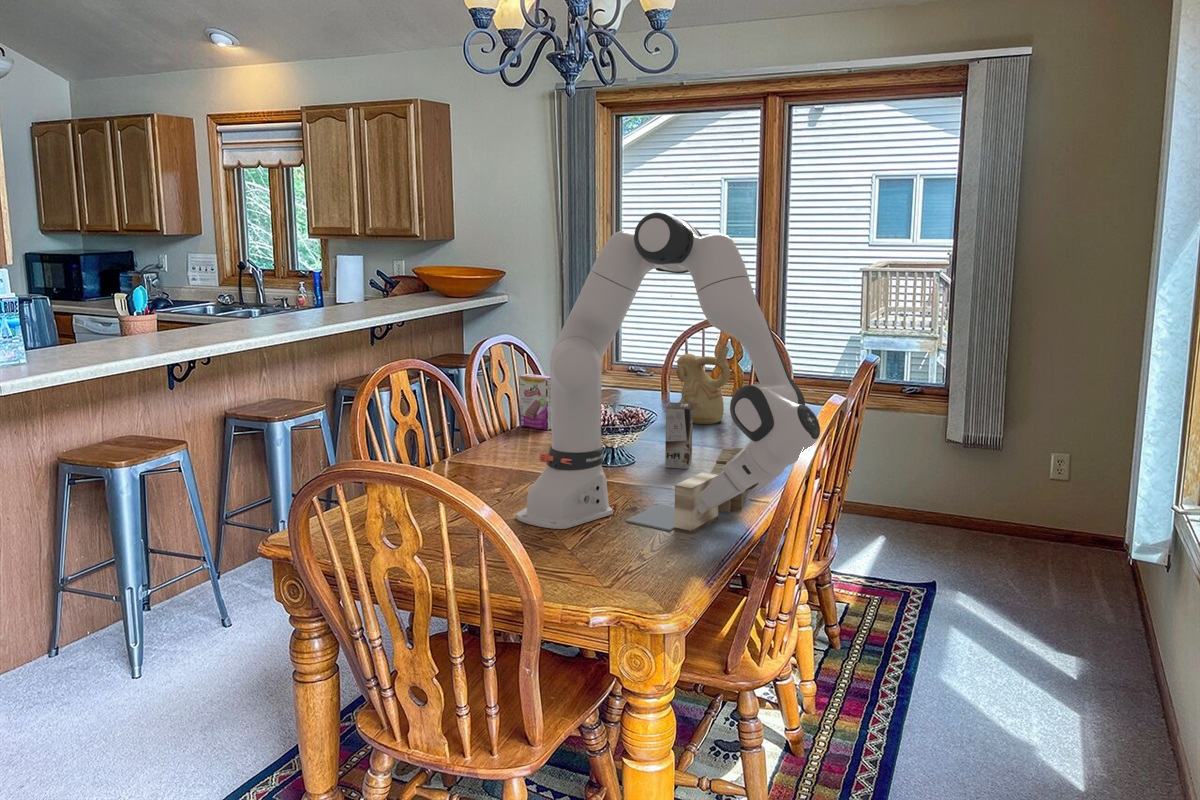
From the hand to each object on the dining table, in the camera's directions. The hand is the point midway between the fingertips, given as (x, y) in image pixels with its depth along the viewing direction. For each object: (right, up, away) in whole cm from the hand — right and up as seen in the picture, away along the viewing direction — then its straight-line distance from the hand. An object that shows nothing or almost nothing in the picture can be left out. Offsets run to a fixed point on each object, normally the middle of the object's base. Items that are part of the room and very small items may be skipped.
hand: (711, 504), depth 194 cm
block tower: (+8, -1, +26) cm, 27 cm away
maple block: (-3, -5, +3) cm, 6 cm away
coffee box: (-2, +5, +52) cm, 52 cm away
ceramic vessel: (+9, +15, +105) cm, 106 cm away
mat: (-9, -4, +8) cm, 13 cm away
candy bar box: (-43, +13, +96) cm, 106 cm away
